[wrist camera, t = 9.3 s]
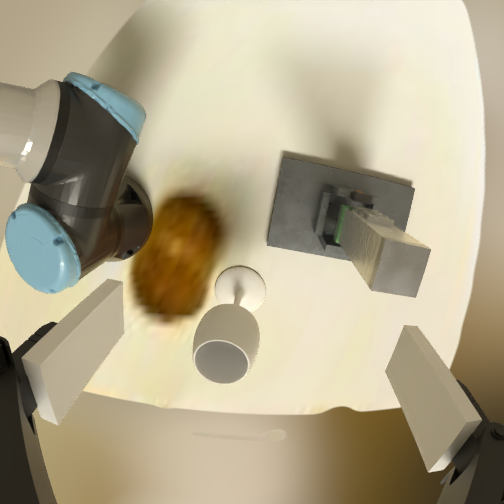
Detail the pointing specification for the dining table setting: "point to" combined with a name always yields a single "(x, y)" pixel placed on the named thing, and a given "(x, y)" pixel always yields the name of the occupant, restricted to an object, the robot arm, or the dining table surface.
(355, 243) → the column
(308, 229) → the stand base
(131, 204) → the robot arm
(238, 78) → the dining table surface
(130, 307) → the dining table surface
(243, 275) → the wineglass
